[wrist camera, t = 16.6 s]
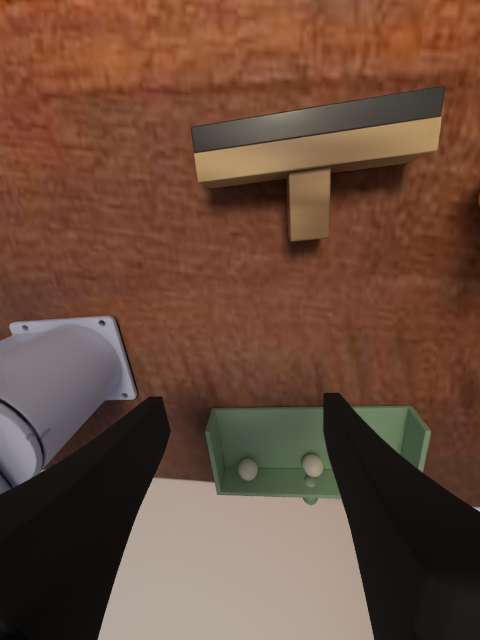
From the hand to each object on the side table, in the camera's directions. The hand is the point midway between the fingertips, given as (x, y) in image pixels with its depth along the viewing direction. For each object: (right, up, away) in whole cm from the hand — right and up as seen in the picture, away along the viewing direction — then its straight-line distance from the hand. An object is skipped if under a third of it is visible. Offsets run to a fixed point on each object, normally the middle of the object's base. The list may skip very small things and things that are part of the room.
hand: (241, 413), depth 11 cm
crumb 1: (+1, -10, +13) cm, 16 cm away
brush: (+3, +15, +2) cm, 15 cm away
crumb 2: (+6, -9, +12) cm, 16 cm away
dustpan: (+6, -8, +12) cm, 16 cm away
